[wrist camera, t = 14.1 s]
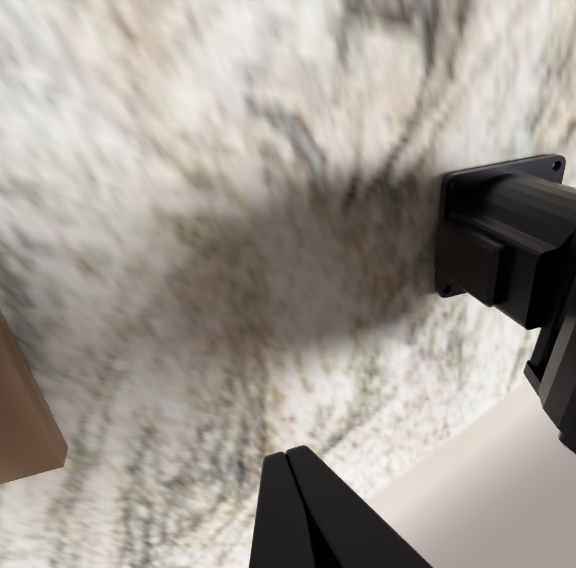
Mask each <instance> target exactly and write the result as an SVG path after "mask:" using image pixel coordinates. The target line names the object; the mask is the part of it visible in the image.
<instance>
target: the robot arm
mask: <svg viewBox="0 0 576 568" xmlns="http://www.w3.org/2000/svg"><path fill="white" fill-rule="evenodd" d="M554 163H555V164H554ZM553 164H554V167H553V168H552V166H553ZM565 165H566V160H565V158H564V157H563V156H561V155H556V154H550V155H545V156H539V157H534V158H529V159H523V160H518V161H512V162H507V163H502V164H496V165H491V166H485V167H480V168H475V169H469V170H464V171H459V172H453V173H450V174H448V175H447V176H445V177H444V179H443V181H442V184H441V197H440V212H439V222H438V224H437V237H436V253H435V269H436V273H435V292H436V293H437V294H438V295H439V296H441V297H443V298H447V297H451V296H455V295H459V294H463V293H469V294H470V295H472V296H473V297H475V298H476V299H477V300H479V301H480V302H481V303H483V304H484V305H486V306H487V307H493V306H494V307H496V308H497V309H498V310H500V311H501V312H503V313H504V314H505V315H507V316H508V317H510V318H511V319H513V320H514V321H515V322H517V323H518V324H520V325H521V326H522V327H524V328H525V329H527V330H531V329H535V328H539V327H540V328H541V330H540V333H539V336H538V339H537V341H536V344H535V347H534V350H533V353H532V356H531V359H530V360H529V361H527V363H526V366H525V369H524V374H525V376H526V378H527V379H528V381H529V382H530V384H531V385H532V387H533V388H534V390H535V392H536V393H537V395H538V396H539V397H540V400H541V404H542V407H543V409H544V411H545V412H546V413H547V415H548V416H549V417H550V419H551V420H552V421H553V423H554V424H555V425H556V427H557V428H558V429H559V430H560V433H559V435H558V437H559V440H560V441H561V442H562V443H563V445H564V446H565V447H566V448H568V449H569V450H570V451H571V452H573V453H574V454H575V455H576V188H573V187H570V186H566V185H563V184H562V180H563V175H564V170H565ZM453 181H456V183H455V186H454V187H453V188H451V184H452V183H453ZM445 286H447V287H446V288H445V289H444V287H445ZM443 289H444V290H443ZM249 568H433V567H432V566H431V565H430V564H429V563H428V562H427V561H426V560H425V559H424V558H423V557H422V556H421V555H420V554H419V553H417V551H416V550H414V548H412V547H411V546H410V545H409V544H408V543H407V542H406V541H405V540H404V539H403V538H402V537H401V536H400V535H399V534H398V533H397V532H396V531H395V530H394V529H393V528H392V527H391V526H390V525H389V524H388V523H386V522H385V521H384V520H383V519H382V518H381V517H380V516H379V515H378V514H377V513H376V512H375V511H374V510H373V509H372V508H371V507H370V506H369V505H368V504H367V503H366V502H365V501H364V500H363V499H362V498H361V497H359V496H358V495H357V494H356V493H355V492H354V491H353V490H352V489H351V488H350V487H349V486H348V485H347V484H346V483H345V482H344V481H343V480H342V479H341V478H340V477H339V476H338V475H337V474H336V473H335V472H333V471H332V470H331V469H330V468H329V467H328V466H327V465H326V464H325V463H324V462H323V461H322V460H321V459H320V458H319V457H318V456H317V455H316V454H315V453H314V452H313V451H312V450H311V449H310V448H308V447H307V446H305V445H302V446H298V447H295V448H291V449H288V450H287V451H286V453H284V452H278V453H275V454H271V455H268V456H266V457H265V458H264V460H263V465H262V473H261V480H260V488H259V495H258V503H257V510H256V518H255V525H254V533H253V540H252V548H251V555H250V563H249Z"/></svg>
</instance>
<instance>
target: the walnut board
mask: <svg viewBox="0 0 576 568" xmlns="http://www.w3.org/2000/svg"><path fill="white" fill-rule="evenodd" d="M67 450H68V446H67V444H66V442H65V440H64V438H63V436H62V434H61V432H60V430H59V428H58V426H57V424H56V422H55V420H54V418H53V416H52V414H51V412H50V410H49V408H48V406H47V404H46V402H45V400H44V398H43V396H42V394H41V392H40V390H39V388H38V386H37V383H36V381H35V379H34V377H33V375H32V373H31V371H30V369H29V367H28V365H27V363H26V361H25V359H24V357H23V355H22V353H21V351H20V349H19V347H18V345H17V343H16V341H15V339H14V337H13V335H12V333H11V331H10V329H9V327H8V325H7V323H6V321H5V319H4V317H3V315H2V313H1V311H0V484H2V483H6V482H9V481H13V480H17V479H20V478H24V477H28V476H31V475H35V474H38V473H42V472H46V471H49V470H53V469H57V468H60V467H63V466H64V462H65V458H66V454H67Z"/></svg>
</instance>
